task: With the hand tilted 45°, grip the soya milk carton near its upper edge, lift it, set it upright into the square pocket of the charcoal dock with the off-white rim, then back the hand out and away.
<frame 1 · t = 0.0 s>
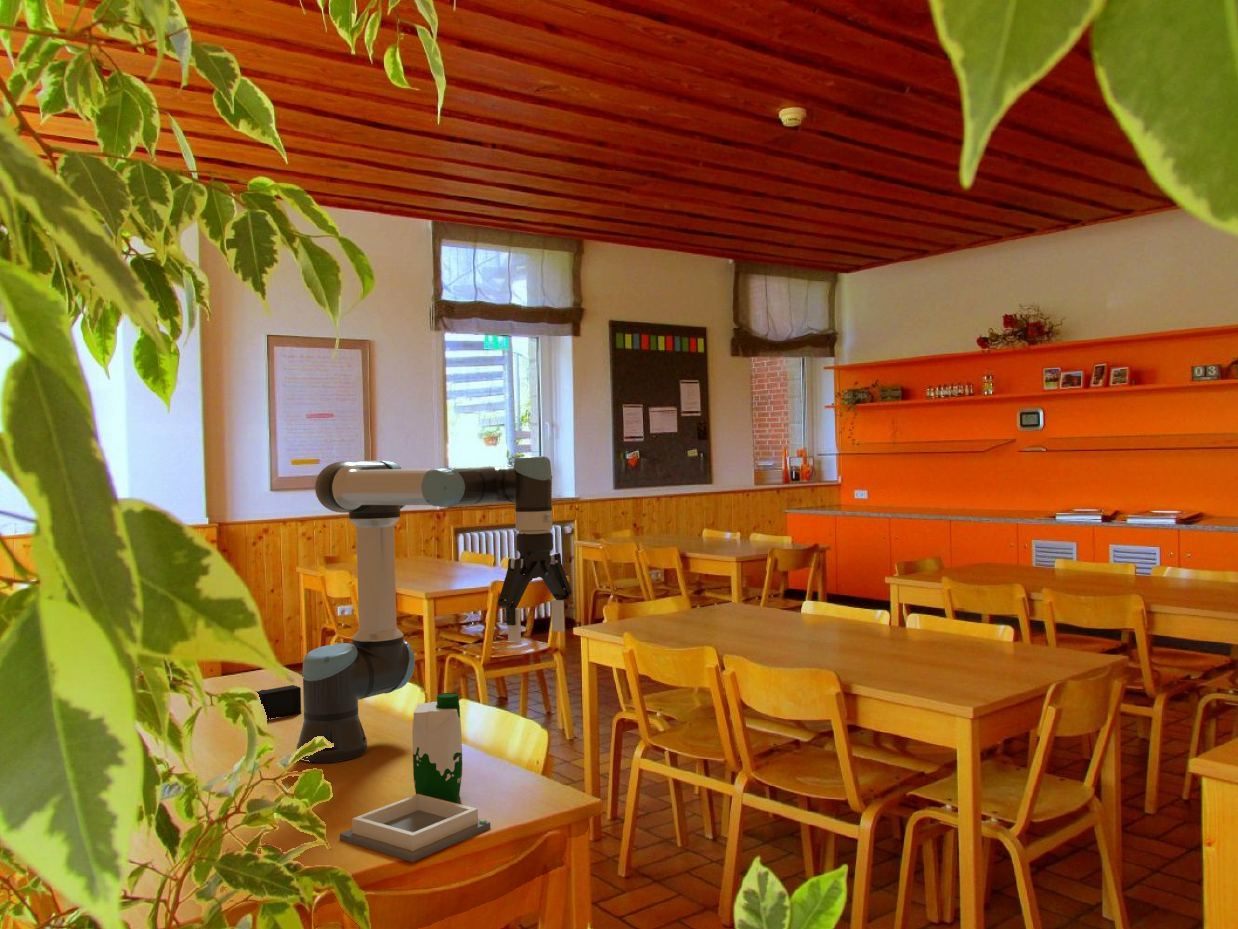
hand: (536, 636, 208), 28 cm above the table, tool pointing down, fingers open, 13 cm apart
soya milk: (438, 802, 193), on the table
digital camera: (277, 716, 263), on the table
dock: (416, 833, 176), on the table
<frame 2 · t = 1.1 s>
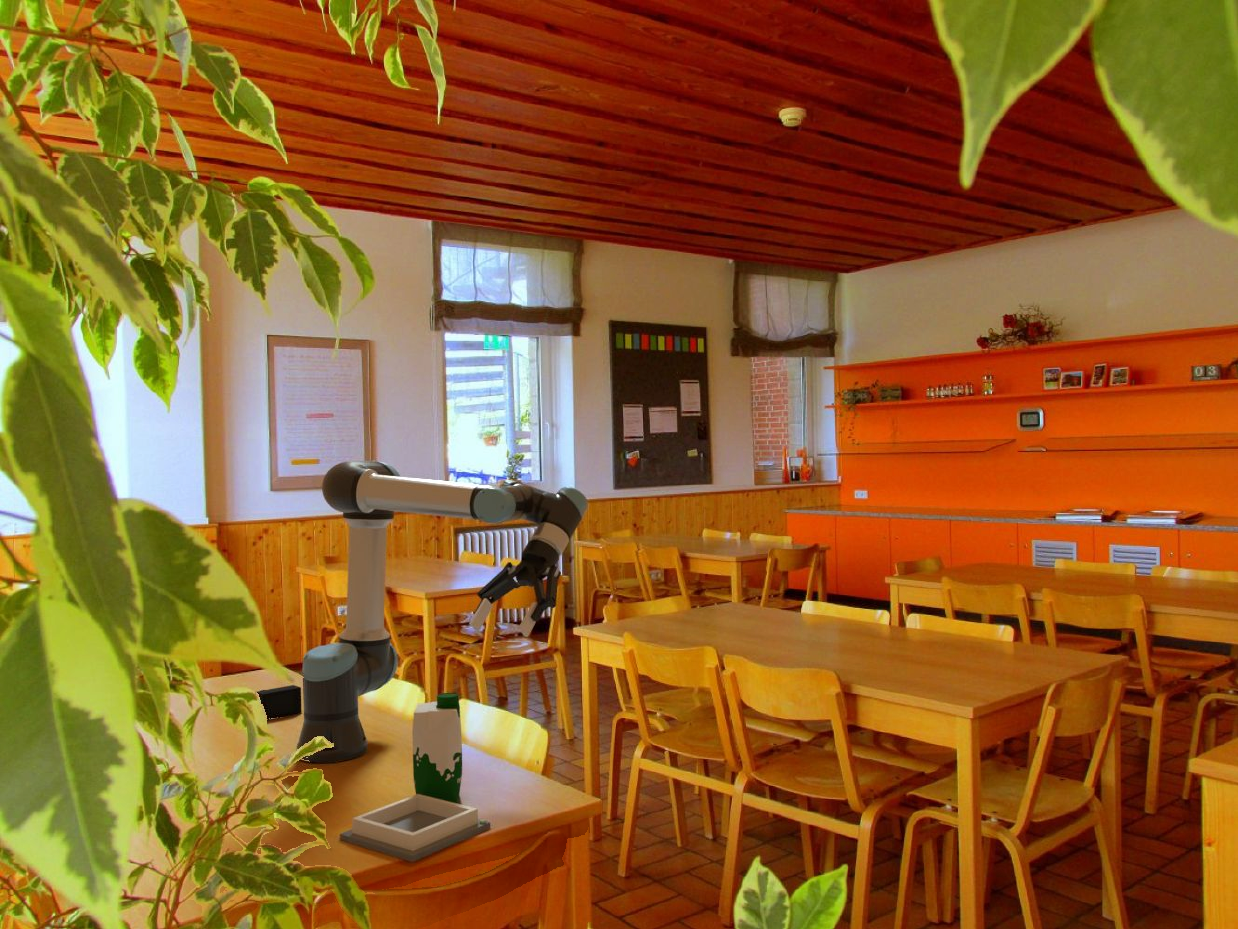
hand: (497, 630, 206), 30 cm above the table, tool tilted 45°, fingers open, 13 cm apart
nothing on the table moved.
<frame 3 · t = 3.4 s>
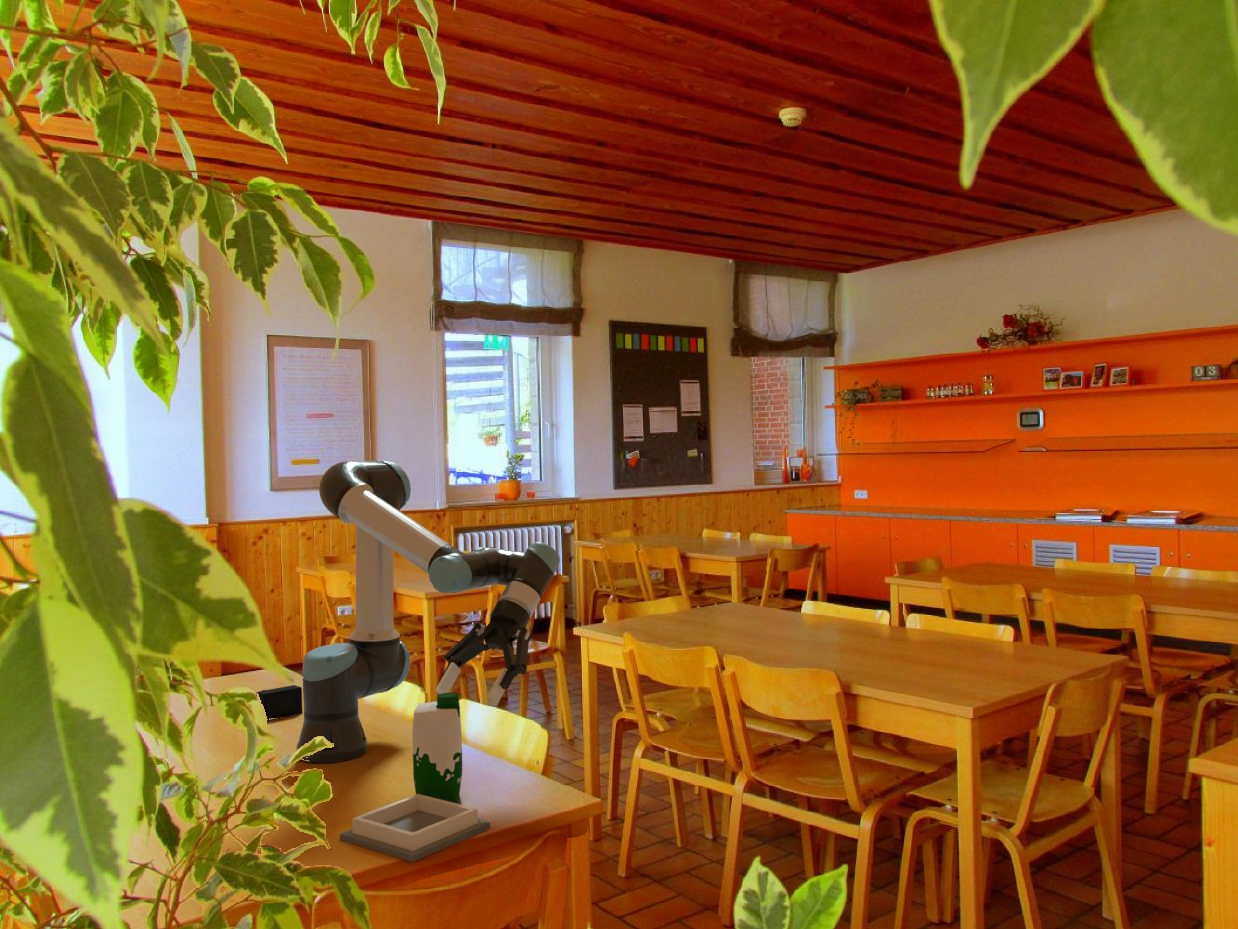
hand: (465, 698, 197), 18 cm above the table, tool tilted 45°, fingers open, 13 cm apart
nothing on the table moved.
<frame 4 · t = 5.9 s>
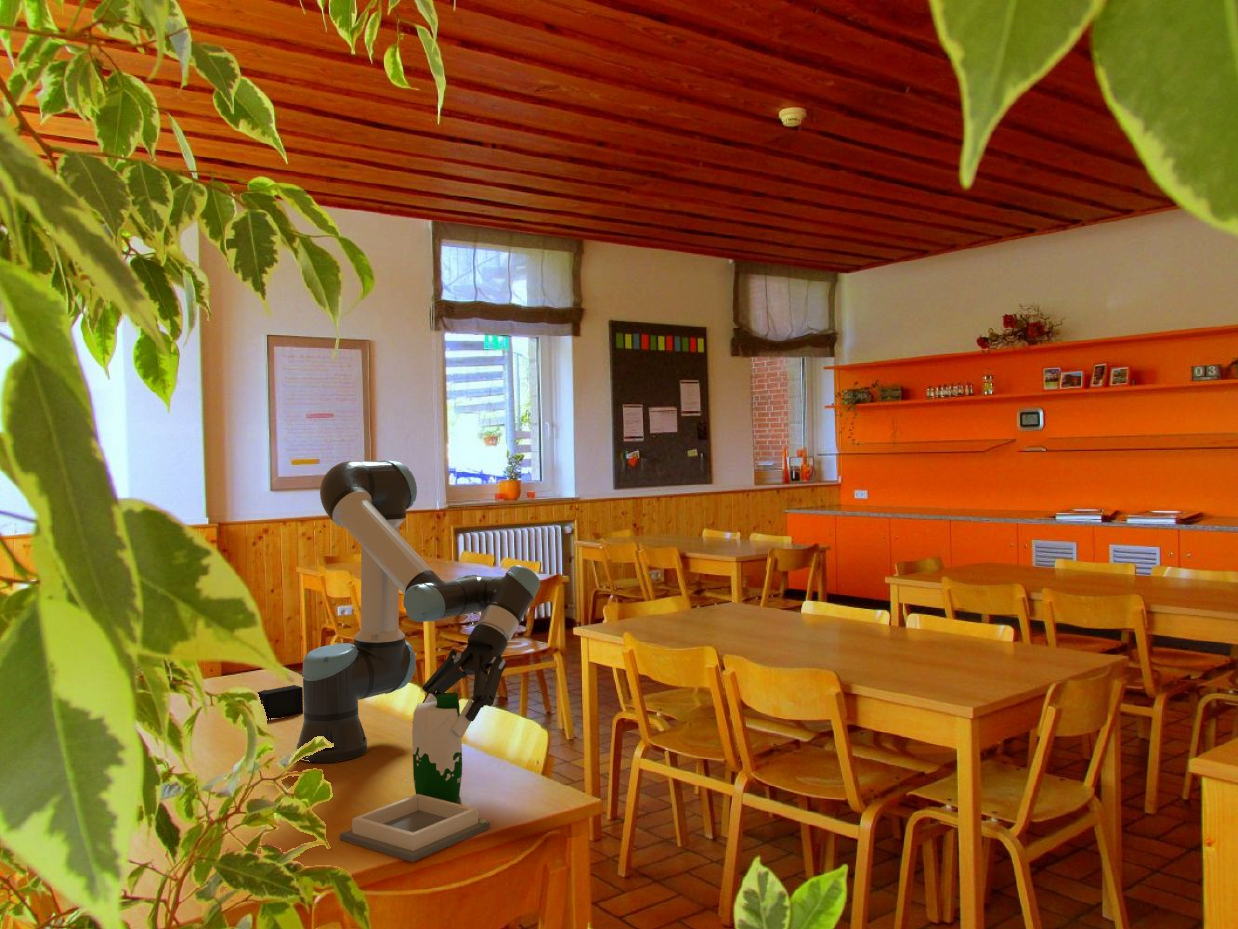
hand: (436, 730, 193), 13 cm above the table, tool tilted 45°, fingers closed on soya milk, 10 cm apart
soya milk: (438, 802, 193), on the table, touching gripper
everything else where it was.
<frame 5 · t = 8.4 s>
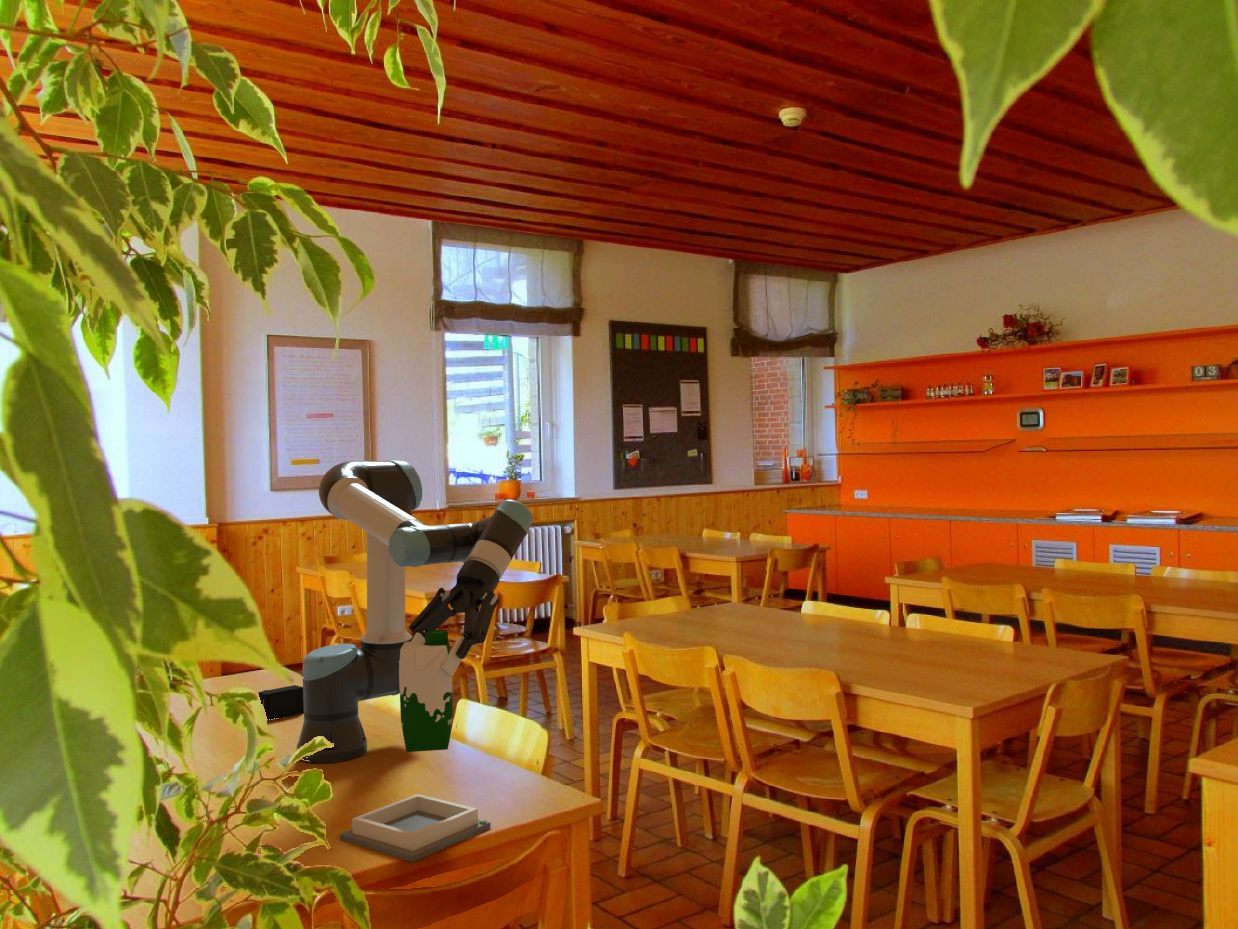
hand: (425, 669, 180), 27 cm above the table, tool tilted 45°, fingers closed on soya milk, 10 cm apart
soya milk: (428, 746, 180), point 14 cm above the table, touching gripper
everything else where it was.
when the fingers open (16 cm above the table, at t = 11.3 s): soya milk drops 1 cm, resting on dock.
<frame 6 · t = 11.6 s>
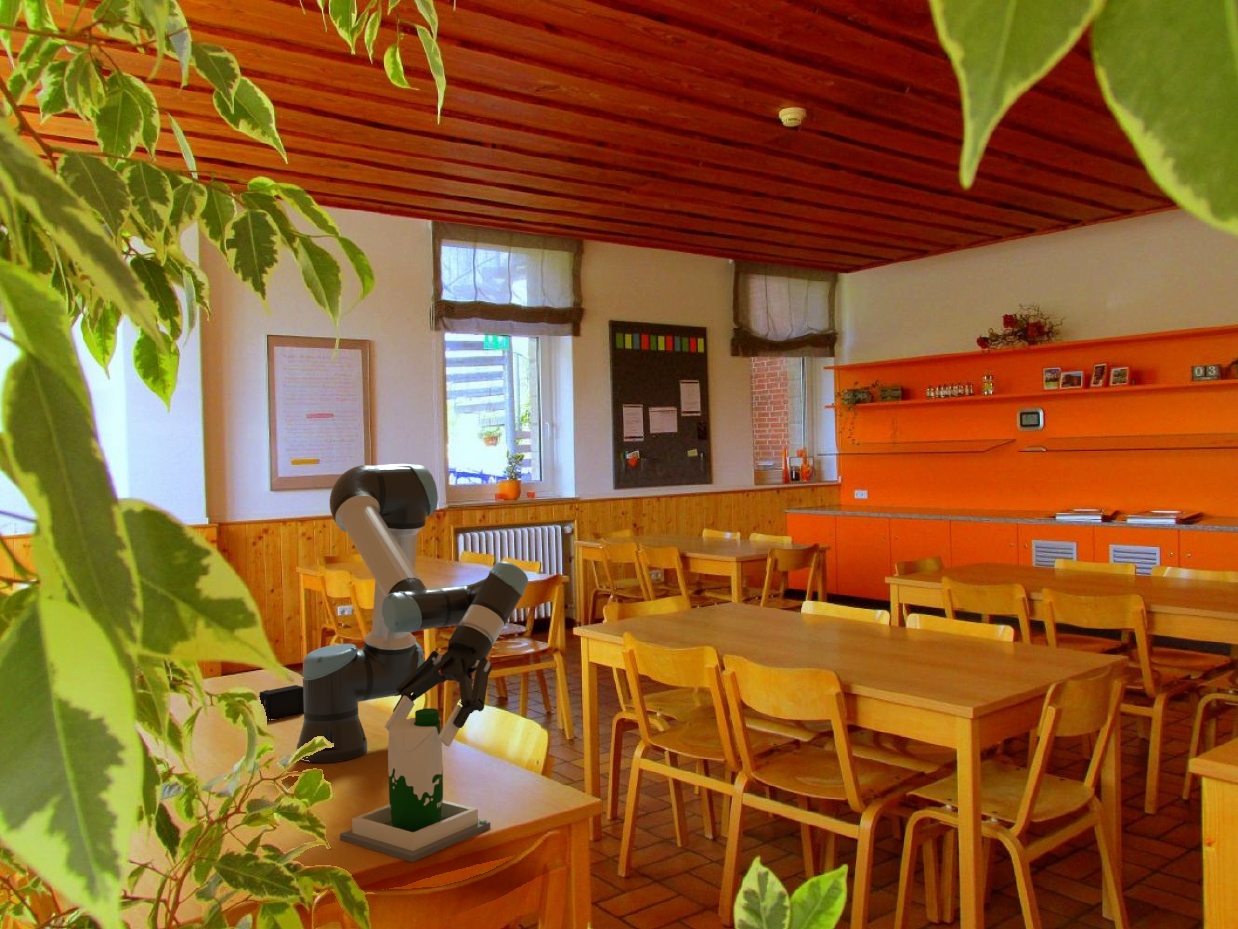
hand: (416, 736, 176), 17 cm above the table, tool tilted 45°, fingers open, 13 cm apart
soya milk: (417, 828, 176), point 1 cm above the table, touching dock
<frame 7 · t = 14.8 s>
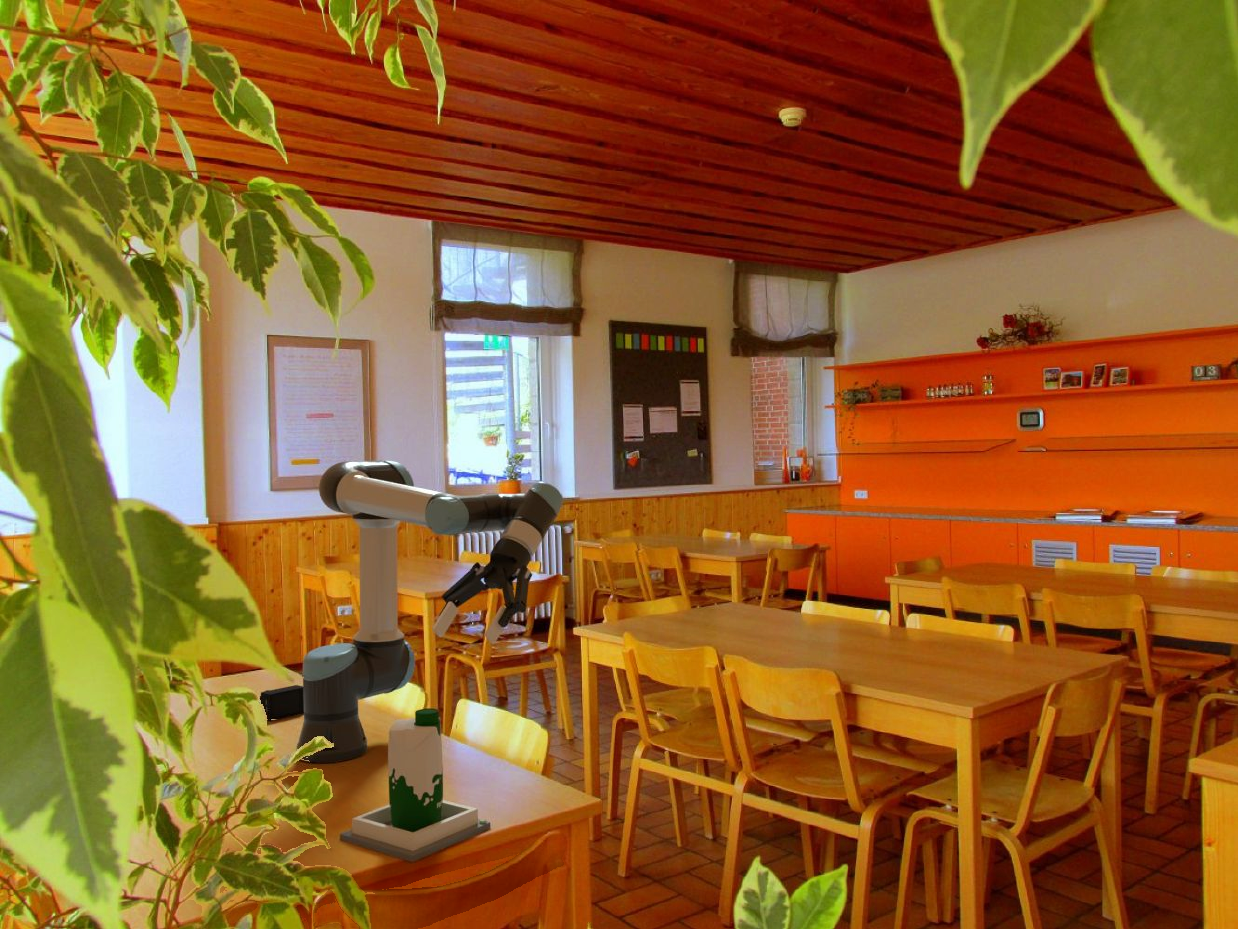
hand: (462, 636, 190), 31 cm above the table, tool tilted 45°, fingers open, 13 cm apart
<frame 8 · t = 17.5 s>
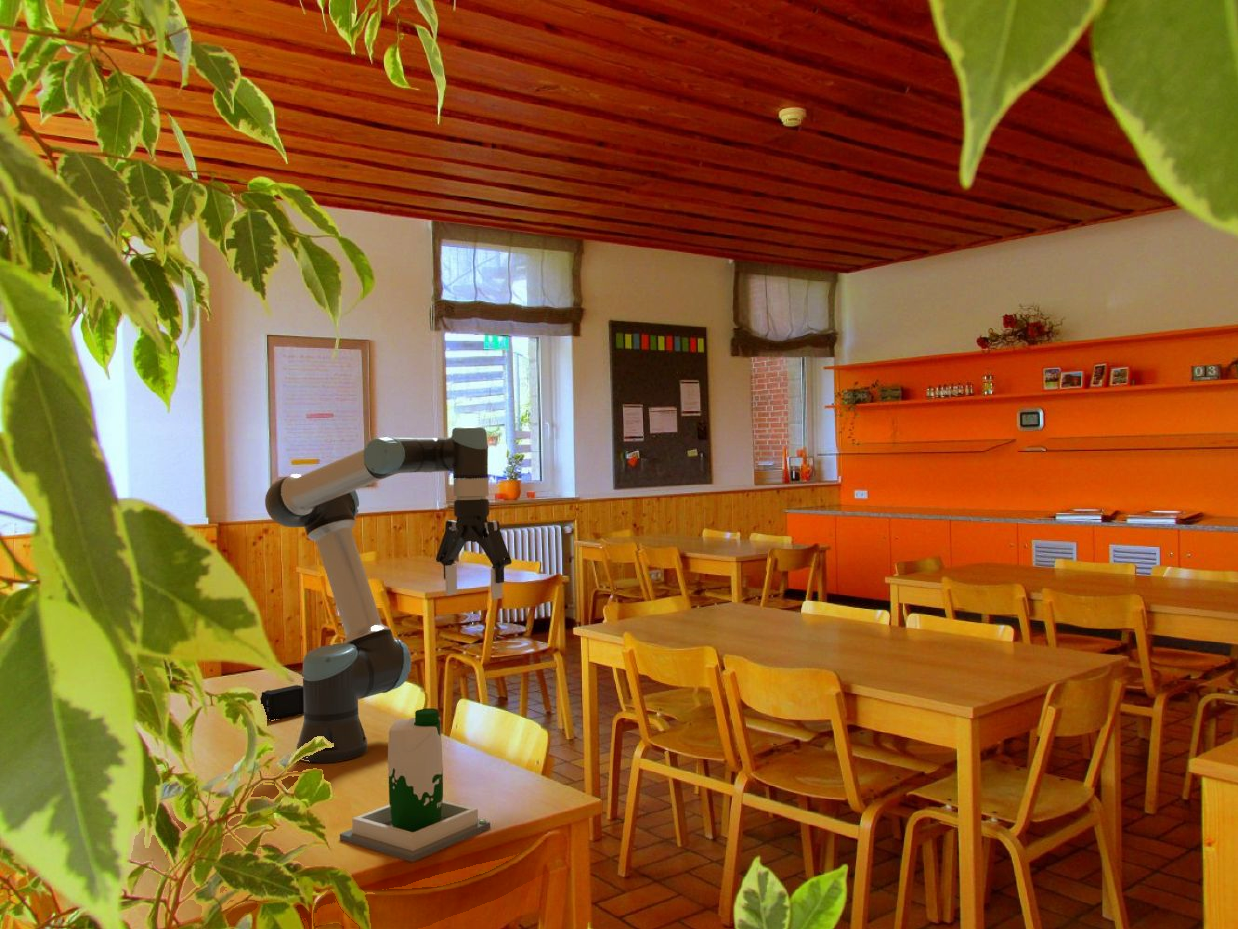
hand: (473, 596, 221), 35 cm above the table, tool pointing down, fingers open, 13 cm apart
at the end: soya milk 0.3 cm off-centre on the dock, point 0.8 cm above the dock's base; soya milk tilted 0°; the gripper is holding nothing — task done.
